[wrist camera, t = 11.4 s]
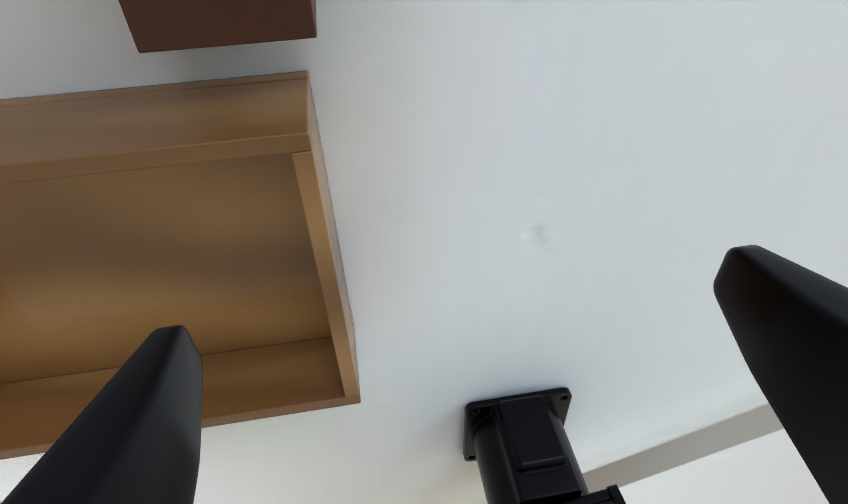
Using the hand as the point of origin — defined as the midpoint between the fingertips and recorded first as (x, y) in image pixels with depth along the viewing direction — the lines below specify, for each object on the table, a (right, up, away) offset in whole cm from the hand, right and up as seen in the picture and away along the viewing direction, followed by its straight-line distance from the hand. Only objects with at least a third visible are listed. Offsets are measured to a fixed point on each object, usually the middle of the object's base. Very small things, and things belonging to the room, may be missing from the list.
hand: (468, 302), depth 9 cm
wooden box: (-12, +1, +12) cm, 17 cm away
